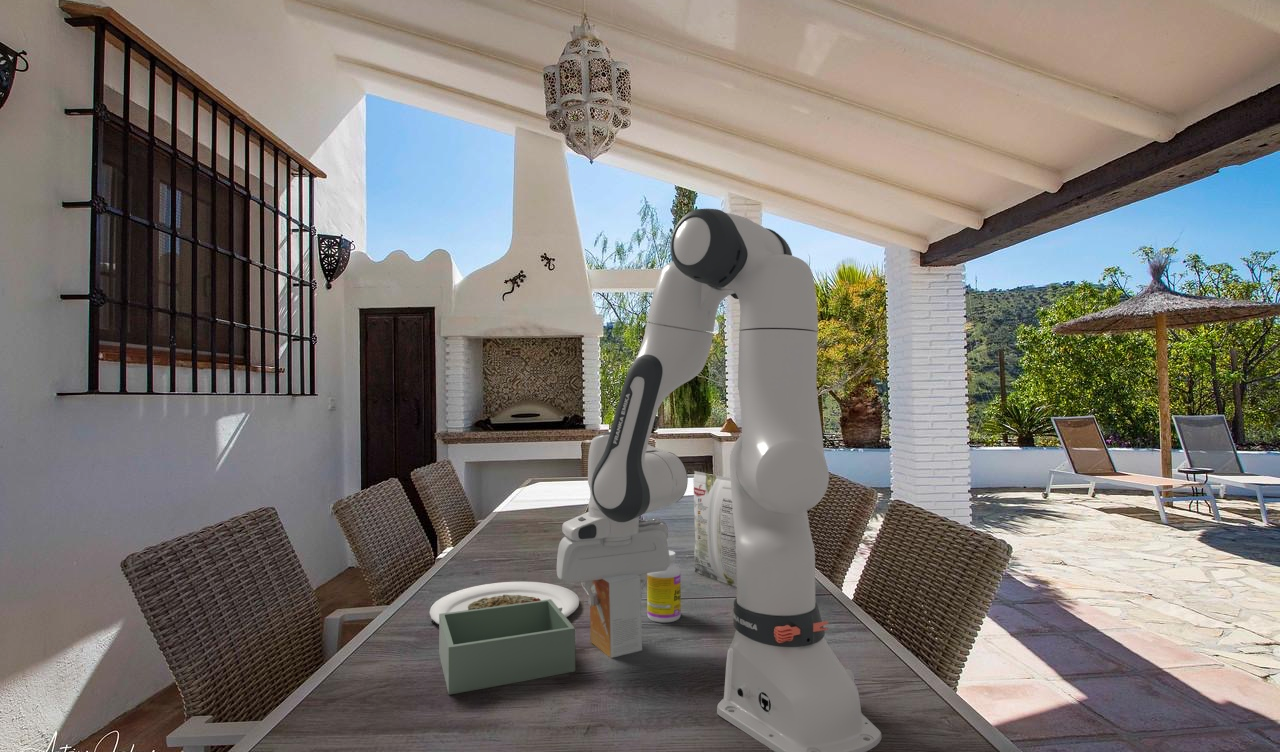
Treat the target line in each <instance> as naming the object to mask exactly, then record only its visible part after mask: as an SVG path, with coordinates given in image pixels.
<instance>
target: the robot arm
mask: <svg viewBox="0 0 1280 752" xmlns="http://www.w3.org/2000/svg"><path fill="white" fill-rule="evenodd" d="M674 227H675V228H674V229H673V232H672V235H671V239H670V247H669V248H670V254H671V259H672V261H670V262H668V263H667V264H665V265H664V266H663V267H662V269H661V271H660V272H659V276H658V278H657V281H656V285H655V288H654V290H653V294H652V297H651V300H650V305H649V309H648V315H647V319H646V321H647V322H646V326H645V330H644V336H643V338H642V342H641V345H640V348H639V351H638V353H637V354H636V357H635V360H634V361H633V363H632V364H631V366H630V367H629V369H628V372H627V374H626V377H625V378H624V382H623V384H622V388H621V392H620V396H619V400H618V404H617V407H616V410H615V414H614V418H613V422H612V425H611V429H610V431H608V432H603V433H599V434H597V435H595V436H594V437H593V438H592V439H591V442H590V445H589V449H588V457H587V484H588V486H589V491H590V496H589V500H588V511H589V512H588V511H587V512H585V513H583V514H580V515H578V516H576V517H573V518H571V519H569V520H567V521H564V522H563V523H562V525H561V530H562V533H563V534H564V535H565V536H564V537H562V538H561V540H560V541H559V543H558V549H557V555H556V575H557V577H558V579H559V580H560V581H561V582H562V583H563V584H564V585H571V584H578V583H581V586H582V588H583V590H584V591H585V593H586V594H587V604H588V605H589V607H590V606H596V605H599V601H598V600H599V595H597V593H592V591H591V589H590V587H592V586H593V581H594V580H601V579H603V578H608V577H614V576H621V575H630V574H636V575H638V576H640V587H641V599H642V598H643V597H642V595H643V593H642V591H643V588H644V587H645V585H646V583H647V573H653V572H660V571H666V570H667V568H668V567H669V565H670V557H669V550H670V549H669V544H668V538H669V527H668V524H667V523H666V522H665V521H664V520H662V519H661V518H651V519H640V517H641V516H643V515H645V514H647V513H652V512H655V511H658V510H661V509H663V508H667V507H669V506H672V505H674V504H675V503H677V502H679V501H680V500H682V499H683V498H684V496H685V494H686V491H687V488H688V481H689V479H688V471H687V468H686V466H685V464H684V463H683V461H682V460H681V458H680V457H679V456H678V455H676V454H675V453H673V452H670V451H666V450H663V449H660V448H657V447H655V446H652V445H650V444H649V441H650V437H651V434H652V431H653V427H654V422H655V420H656V415H657V412H658V410H659V409H660V407H661V404H662V403H663V402H664V400H665V399H666V398H667V397H668V396H669V395H670V394H672V393H673V392H674V391H675V390H676V389H678V388H680V387H681V386H682V385H684V384H686V383H687V382H690V381H691V380H693V379H694V378H695V377H697V376H698V375H699V374H700V373H701V372H702V371H703V369H704V367H705V365H706V363H707V360H708V358H709V355H710V352H711V348H712V343H713V336H714V332H715V331H714V330H715V325H716V319H717V318H716V317H717V312H718V309H719V306H720V304H721V303H722V301H723V300H724V299H726V298H727V297H728V296H731V297H732V298H734V299H735V300H738V303H739V310H740V311H739V312H740V313H739V314H740V316H739V328H738V329H739V330H738V331H739V332H738V336H739V337H738V362H737V363H738V366H737V368H738V370H737V388H738V389H737V390H738V396H739V403H740V404H739V406H740V418H741V420H740V421H741V435H740V436H739V437H738V438H737V439H736V441H735V442H734V444H733V446H732V448H731V451H730V455H729V474H730V475H729V476H730V477H729V478H731V493H732V507H733V519H734V529H735V539H736V584H737V587H736V598H734V600H733V607H732V618H733V627H734V629H735V633H734V636H733V639H732V642H731V644H730V646H729V648H728V649H727V652H726V654H727V655H726V661H725V662H726V664H725V674H724V675H725V677H724V679H725V680H724V688H723V689H724V690H723V691H724V692H723V698H722V699H721V700H720V701H719V702H718V704H716V705H717V706H716V714H717V715H718V716H719V717H720V718H722V719H723V720H725V721H727V722H728V723H730V724H732V725H733V726H734V727H736V728H738V729H739V730H741V731H742V732H743V733H745V734H747V735H748V736H750V737H752V738H753V739H755V740H756V741H757V742H760V744H763V745H764V746H766V747H767V748H769V749H770V750H772V751H773V752H868V751H869V750H872V749H873V748H875V747H877V745H878V744H879V743H880V742H881V740H882V739H883V738H882V737H883V735H882V732H881V730H879V728H877V727H876V725H874V723H872V721H870V720H869V719H868V718H867V717H866V716H865V715H864V714H863V713H862V708H861V699H860V694H859V689H858V687H857V685H856V683H855V676H854V673H853V670H851V669H849V668H845V667H844V665H843V664H842V663H841V661H840V660H839V658H838V657H837V656H836V655H837V654H835V652H834V651H833V650H832V648H831V646H830V645H829V644H828V641H827V640H826V638H825V635H826V632H825V631H827V630H829V628H828V627H825V626H826V625H828V624H829V621H828V620H827V621H823V620H822V614H821V613H820V608H819V605H818V604H817V602H816V550H815V544H814V541H813V537H812V532H811V529H810V521H809V516H808V511H809V510H811V509H813V508H814V507H815V506H817V505H818V503H820V502H821V501H822V499H823V498H824V496H825V495H826V492H827V490H828V487H829V482H830V473H829V468H828V464H827V462H826V461H827V460H826V458H825V450H824V438H823V431H822V421H821V414H820V407H819V399H818V388H817V387H818V385H817V384H818V383H817V380H818V379H817V376H818V375H817V374H818V367H817V366H818V337H819V334H818V331H819V330H818V327H819V317H818V315H819V314H818V303H817V293H816V285H815V280H814V276H813V271H812V269H811V266H809V264H808V263H807V262H806V261H804V260H803V259H802V258H799V257H797V256H794V255H793V252H792V250H791V248H790V245H789V243H788V242H787V241H786V239H784V238H783V236H781V235H780V234H779V233H777V232H776V231H775V230H773V229H770V228H767V227H764V226H762V225H761V224H758V223H757V222H754V221H753V220H752V219H749V218H747V217H744V216H741V215H738V214H733V213H728V212H725V211H724V210H722V209H719V208H718V209H717V208H699V209H695V210H691V211H689V212H687V213H686V214H685V215H684V216H682V218H681V219H680V220H679V221H678V222H677V223H676V225H675V226H674Z"/></svg>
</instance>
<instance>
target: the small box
mask: <svg viewBox="0 0 1280 752" xmlns="http://www.w3.org/2000/svg"><path fill="white" fill-rule="evenodd" d="M589 588H590V589H591V591H592V593H597V595H599V600H598V601H599V605H596V606H590V605H589V612H590V613H589V616H590V617H589V619H590V622H589V623H590V625H589V626H590V643H591V644H592V645H594V646H595V647H596V648H597V649H599V650H600V651H601V652H602V653H604V654H605V655H606V656H607V657H609V658H611V659H613V658H616V657H620V656H624V655H629V654H633V653H638V652H641V651H643V641H642V640H643V635H642V633H643V631H642V630H643V629H642V598H641V587H640V576H638V575H636V574H630V575H621V576H614V577H608V578H603V579H601V580H594V581H593V586H592V587H589Z"/></svg>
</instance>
